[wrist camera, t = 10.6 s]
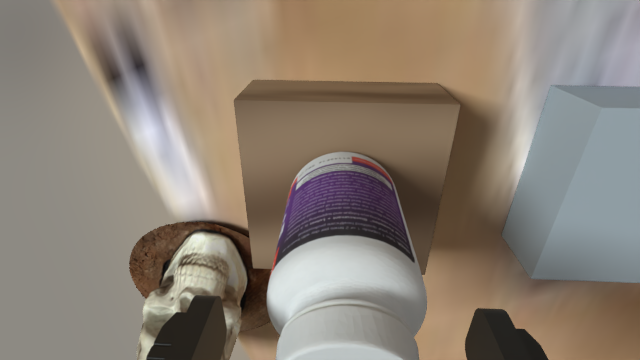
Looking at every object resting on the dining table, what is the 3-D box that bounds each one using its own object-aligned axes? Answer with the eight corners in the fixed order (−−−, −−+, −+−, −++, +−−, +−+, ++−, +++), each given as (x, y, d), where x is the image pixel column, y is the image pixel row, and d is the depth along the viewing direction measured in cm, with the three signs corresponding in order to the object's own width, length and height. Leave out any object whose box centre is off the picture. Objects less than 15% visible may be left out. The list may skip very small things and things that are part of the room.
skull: (116, 195, 22) (175, 324, 16) (254, 184, 29) (329, 270, 23) (101, 318, 27) (142, 449, 21) (221, 282, 34) (276, 373, 28)
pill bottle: (270, 174, 17) (203, 357, 8) (371, 130, 16) (413, 296, 7) (318, 251, 19) (304, 457, 11) (410, 219, 18) (477, 424, 9)
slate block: (551, 85, 18) (601, 107, 15) (746, 89, 18) (846, 112, 14) (501, 235, 23) (530, 278, 20) (654, 240, 23) (712, 285, 19)
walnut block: (253, 80, 19) (233, 100, 15) (437, 83, 18) (460, 104, 15) (265, 227, 24) (252, 268, 20) (411, 232, 23) (424, 274, 20)
